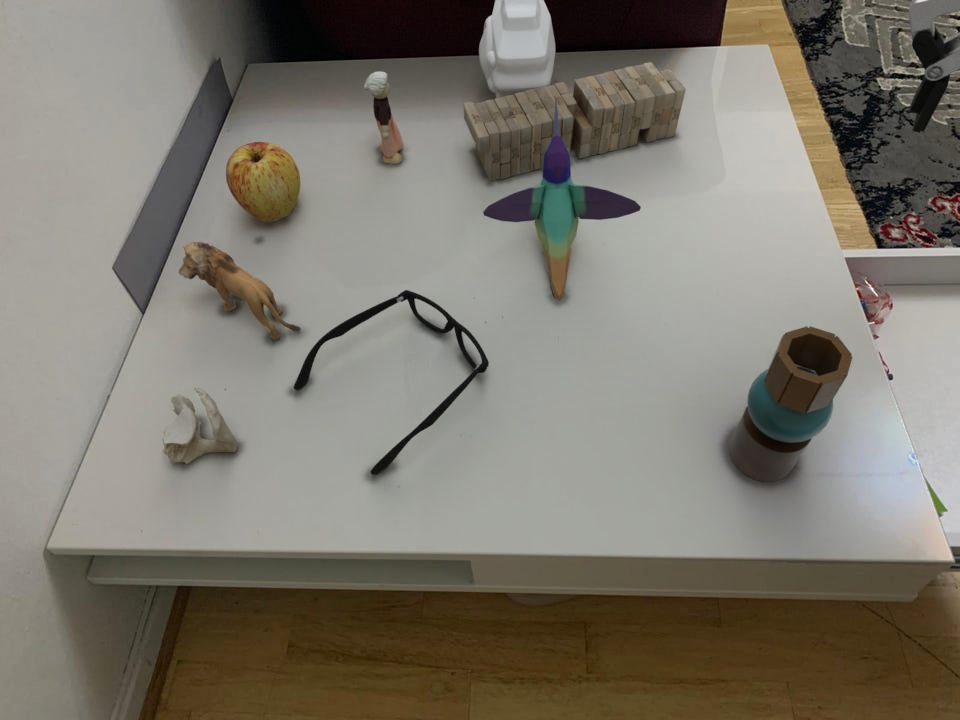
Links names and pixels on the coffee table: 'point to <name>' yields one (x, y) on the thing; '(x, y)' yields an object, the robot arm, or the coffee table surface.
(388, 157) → the grandmother figurine
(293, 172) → the apple
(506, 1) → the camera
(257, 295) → the lion figurine
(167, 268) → the coffee table surface
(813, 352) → the bronze ring
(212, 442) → the bone
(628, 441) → the coffee table surface
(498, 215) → the decorative sculpture
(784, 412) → the ball stand
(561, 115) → the block tower
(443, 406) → the glasses
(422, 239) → the coffee table surface
